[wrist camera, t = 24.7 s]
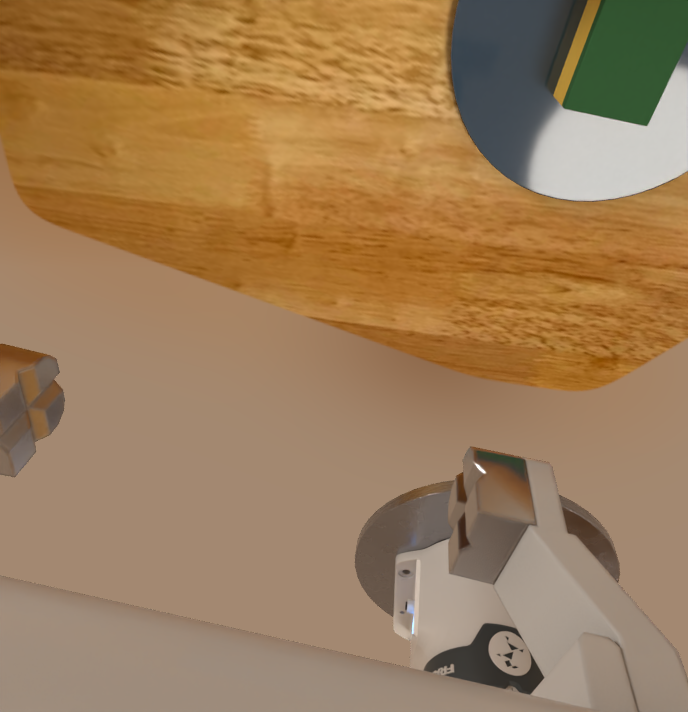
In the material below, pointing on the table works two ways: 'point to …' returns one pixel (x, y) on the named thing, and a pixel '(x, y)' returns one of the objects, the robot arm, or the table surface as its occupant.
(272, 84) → the table surface
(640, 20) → the sponge
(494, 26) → the plate
